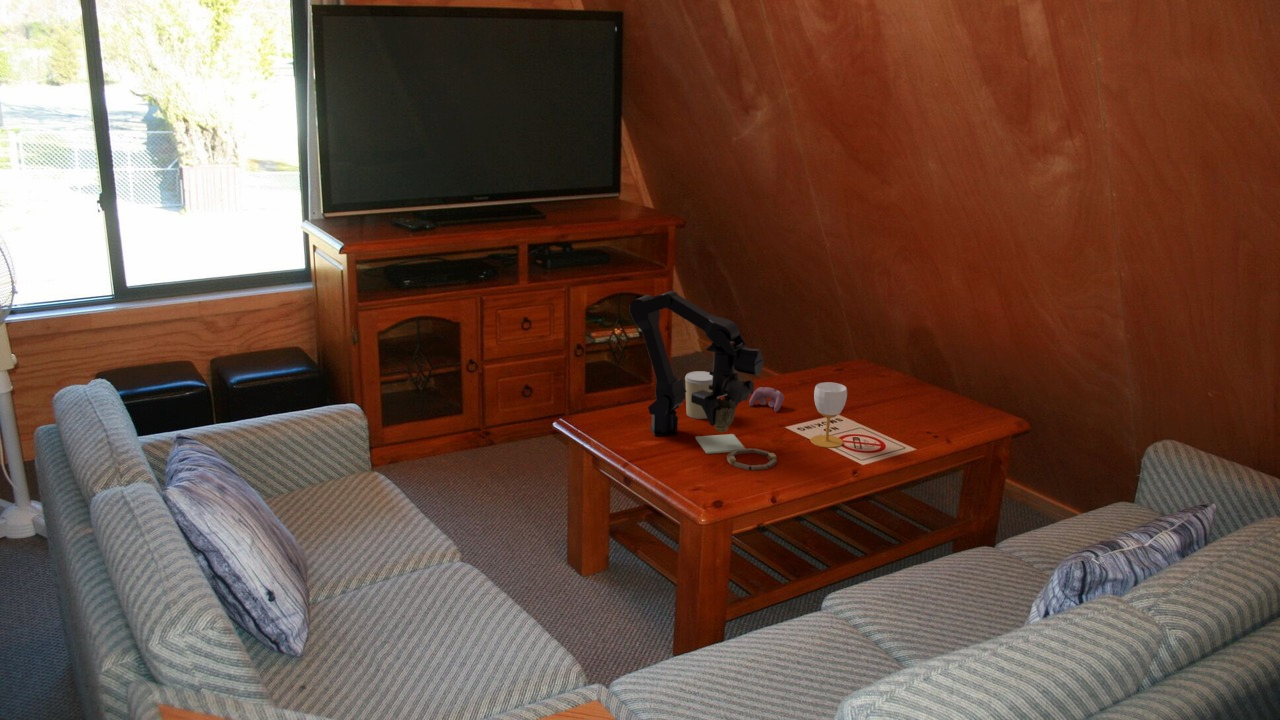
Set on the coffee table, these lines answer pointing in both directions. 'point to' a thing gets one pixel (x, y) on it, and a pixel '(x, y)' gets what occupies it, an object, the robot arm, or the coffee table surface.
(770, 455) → the ring
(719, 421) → the cup
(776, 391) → the video game controller
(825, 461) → the coffee table surface
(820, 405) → the cup
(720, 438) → the felt pad
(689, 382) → the coffee cup
